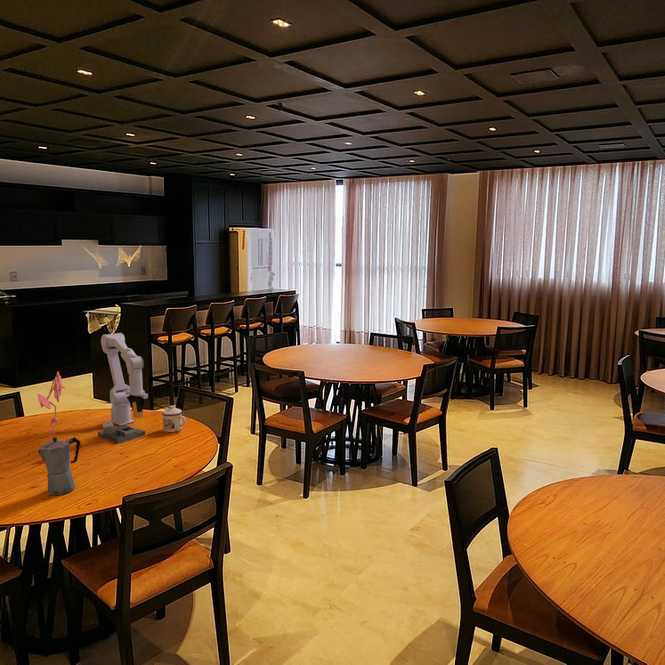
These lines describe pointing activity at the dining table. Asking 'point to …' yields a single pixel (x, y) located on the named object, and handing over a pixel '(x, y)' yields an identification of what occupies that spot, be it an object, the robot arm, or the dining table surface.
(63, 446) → the moka pot
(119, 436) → the grey base plate
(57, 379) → the pink orchid stem
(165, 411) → the teacup with lid
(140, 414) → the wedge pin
